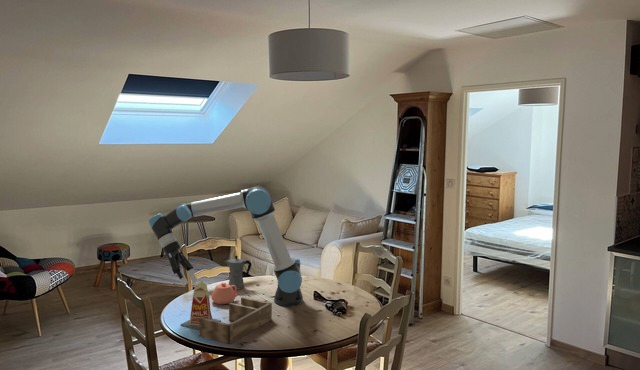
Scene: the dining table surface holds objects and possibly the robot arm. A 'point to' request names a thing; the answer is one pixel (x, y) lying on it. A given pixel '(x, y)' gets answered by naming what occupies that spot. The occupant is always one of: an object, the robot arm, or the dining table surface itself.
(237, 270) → the coffeepot
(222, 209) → the robot arm
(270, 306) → the lane rack
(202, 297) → the milk carton
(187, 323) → the mat
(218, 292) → the sugar bowl
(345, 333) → the dining table surface
